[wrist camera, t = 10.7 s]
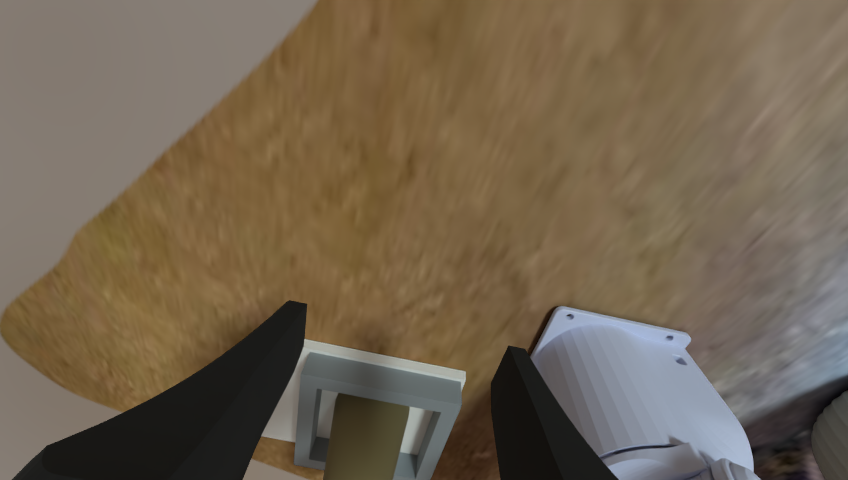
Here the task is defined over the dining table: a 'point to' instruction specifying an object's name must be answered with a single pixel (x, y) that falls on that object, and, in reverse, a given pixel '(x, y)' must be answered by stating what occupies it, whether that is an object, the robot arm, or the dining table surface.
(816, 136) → the dining table surface
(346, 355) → the socket board
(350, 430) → the olive knobbed tapered peg
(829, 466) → the canister
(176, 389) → the robot arm
